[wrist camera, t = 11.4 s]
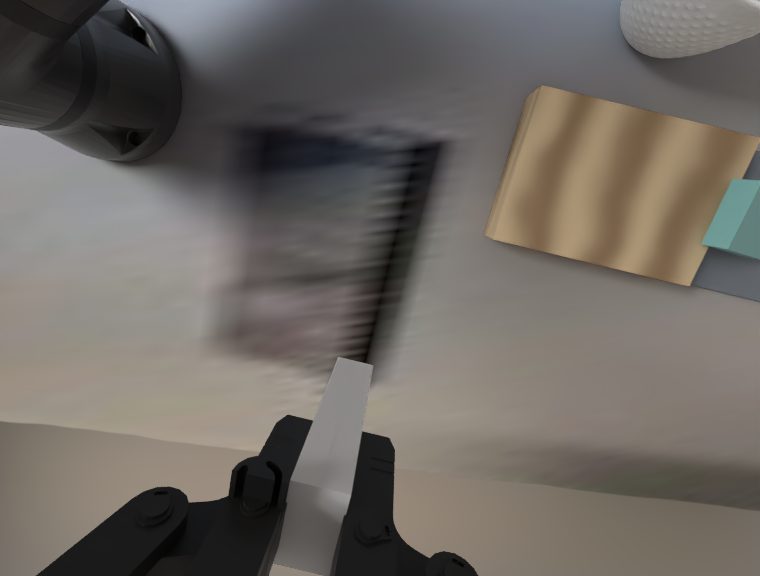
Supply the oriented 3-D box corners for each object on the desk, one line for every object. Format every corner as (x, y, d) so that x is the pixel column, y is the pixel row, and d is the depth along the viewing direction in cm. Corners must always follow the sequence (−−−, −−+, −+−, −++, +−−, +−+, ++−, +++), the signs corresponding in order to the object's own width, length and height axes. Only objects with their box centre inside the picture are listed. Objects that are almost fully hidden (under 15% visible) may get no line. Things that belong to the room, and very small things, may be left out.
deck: (483, 234, 39) (492, 239, 35) (526, 96, 35) (541, 84, 31) (660, 277, 39) (689, 286, 35) (722, 144, 35) (761, 138, 31)
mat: (660, 277, 39) (663, 278, 38) (722, 144, 35) (726, 143, 35) (784, 307, 39) (788, 308, 38) (859, 177, 35) (864, 176, 35)
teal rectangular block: (701, 244, 33) (727, 249, 31) (732, 178, 32) (762, 180, 30) (739, 255, 37) (764, 260, 36) (768, 198, 36) (796, 201, 34)
